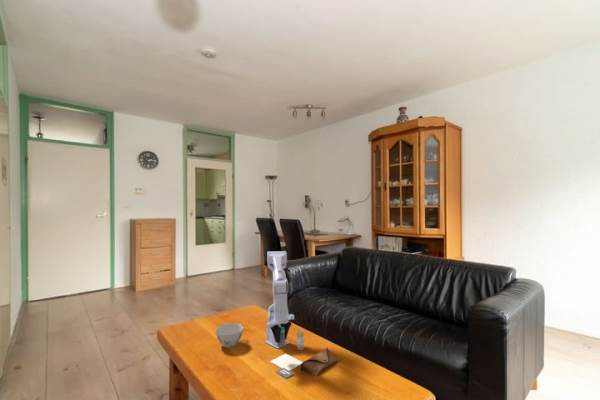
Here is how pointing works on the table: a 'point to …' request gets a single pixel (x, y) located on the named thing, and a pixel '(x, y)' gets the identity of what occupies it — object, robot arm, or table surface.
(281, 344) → the marker
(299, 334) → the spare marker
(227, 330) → the teacup
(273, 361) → the paper
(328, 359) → the sunglasses case
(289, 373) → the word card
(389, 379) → the table surface
